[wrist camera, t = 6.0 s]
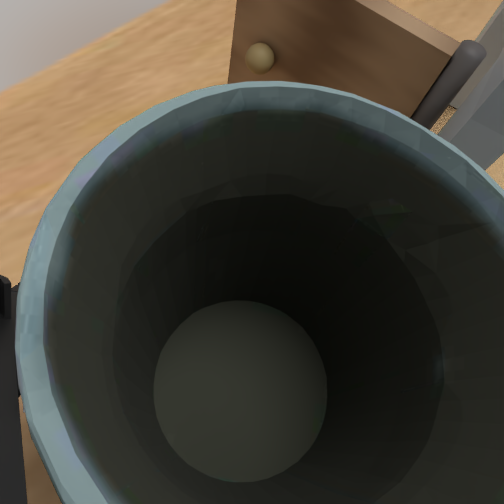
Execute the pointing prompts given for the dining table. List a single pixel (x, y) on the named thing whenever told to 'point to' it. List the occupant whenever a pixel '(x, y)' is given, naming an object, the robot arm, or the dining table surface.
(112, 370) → the teal cup
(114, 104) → the dining table surface
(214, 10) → the dining table surface
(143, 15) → the dining table surface
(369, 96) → the door
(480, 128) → the grey rectangular arch
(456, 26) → the dining table surface
